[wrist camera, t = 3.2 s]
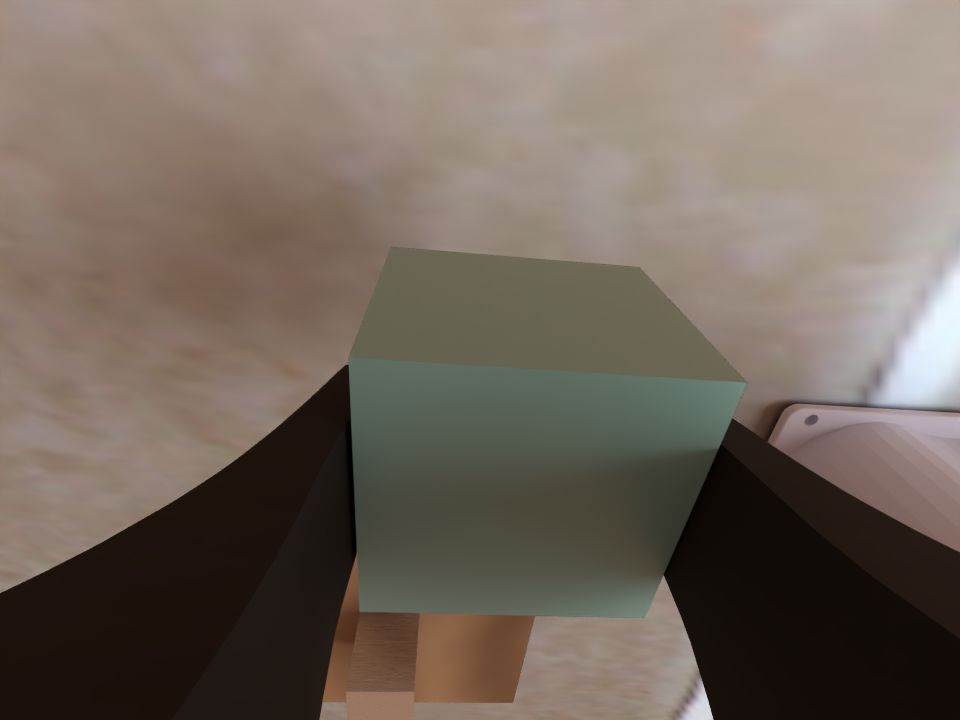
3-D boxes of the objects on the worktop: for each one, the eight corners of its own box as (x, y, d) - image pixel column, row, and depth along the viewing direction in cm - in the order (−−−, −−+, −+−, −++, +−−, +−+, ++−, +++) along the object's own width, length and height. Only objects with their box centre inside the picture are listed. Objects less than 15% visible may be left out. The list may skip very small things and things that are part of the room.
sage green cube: (639, 267, 10) (747, 382, 6) (588, 454, 13) (644, 618, 9) (391, 246, 10) (348, 357, 6) (390, 445, 13) (360, 611, 9)
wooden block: (419, 612, 23) (414, 691, 20) (417, 645, 25) (412, 724, 22) (360, 611, 23) (345, 691, 20) (361, 644, 25) (348, 724, 22)
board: (551, 517, 22) (555, 535, 21) (511, 684, 29) (513, 702, 28) (226, 506, 21) (216, 525, 20) (266, 682, 28) (260, 701, 27)
